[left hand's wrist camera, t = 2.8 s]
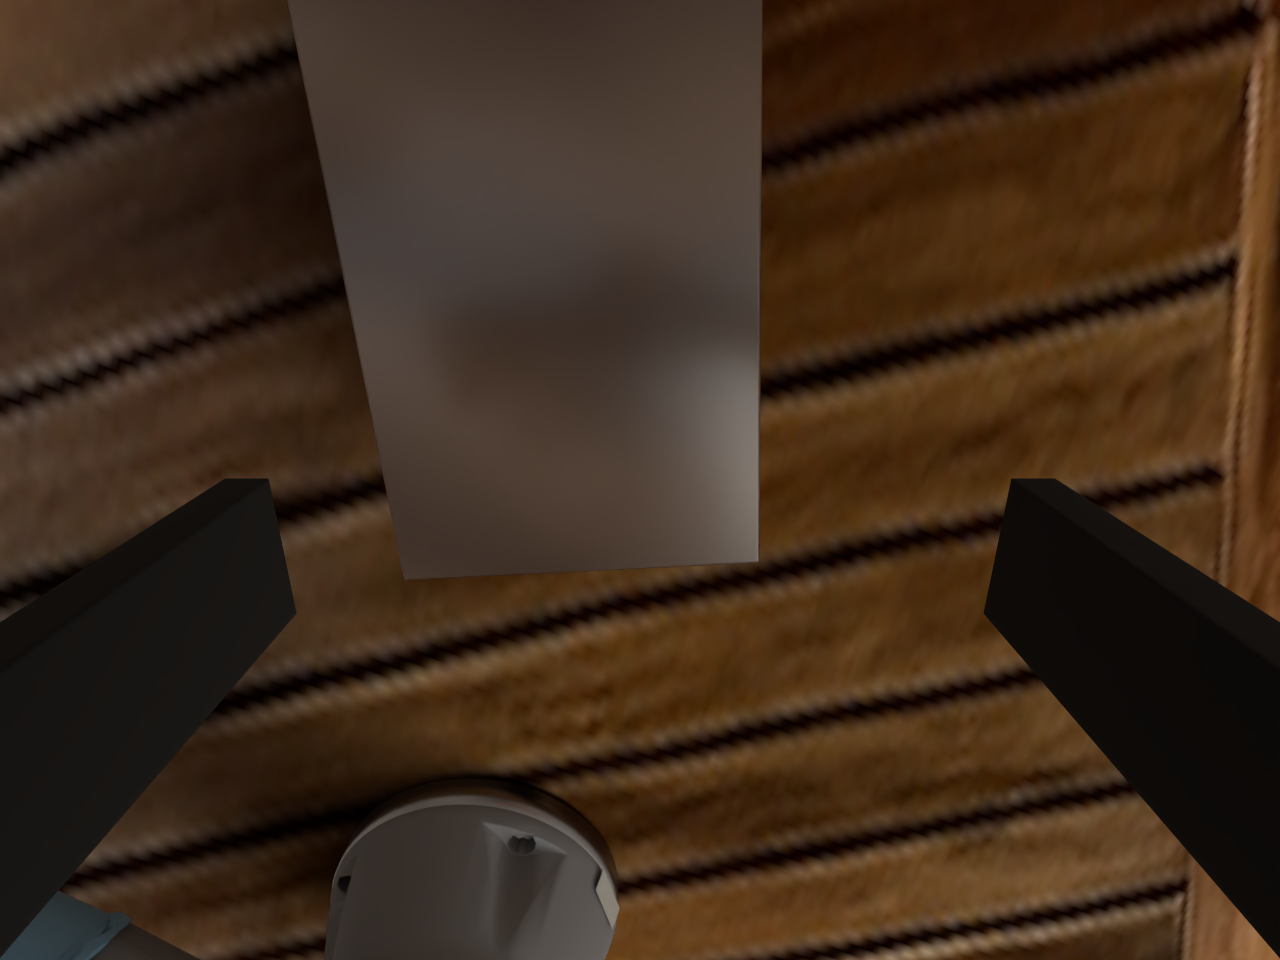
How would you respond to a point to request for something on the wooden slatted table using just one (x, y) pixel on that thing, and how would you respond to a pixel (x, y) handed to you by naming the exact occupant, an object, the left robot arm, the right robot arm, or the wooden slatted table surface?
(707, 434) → the cabinet
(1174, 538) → the wooden slatted table surface
